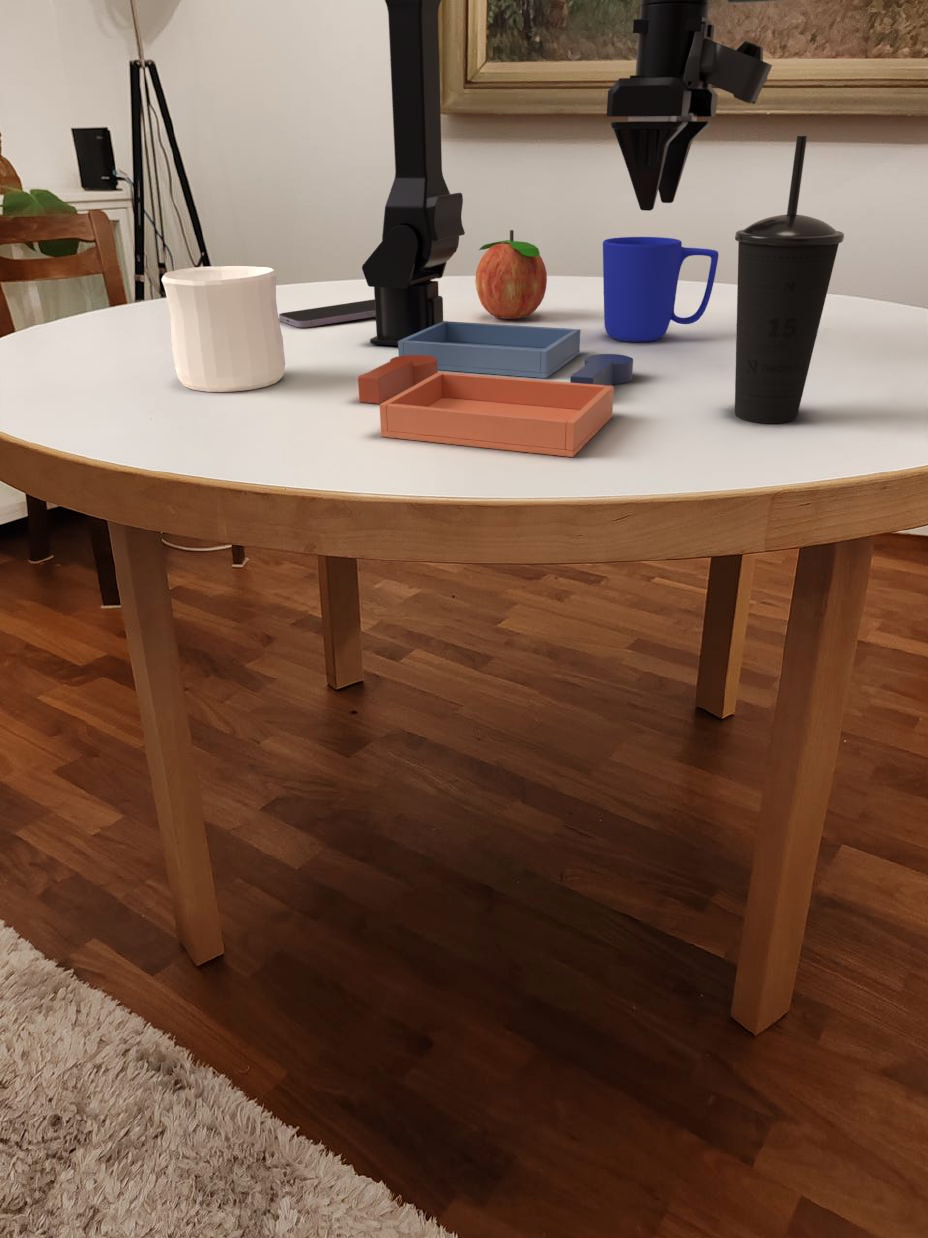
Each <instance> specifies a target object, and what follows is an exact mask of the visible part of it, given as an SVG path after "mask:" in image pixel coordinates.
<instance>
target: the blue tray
mask: <svg viewBox="0 0 928 1238" xmlns="http://www.w3.org/2000/svg"><path fill="white" fill-rule="evenodd" d="M397 347H398V350H397V351H398V356H404V355H427V356H432V357H435V358H437V366H438V371H449V372H460V373H461V372H462V373H471V374H472V373H473V374H474V373H475V374H486V375H499V376H509V377H510V376H512V377H522V378H523V377H525V378H537V379H547V378H549V377H551V375H553V374H554V373H556V372H557V371H558V370H560V369H561V368H562V367H564V366H565V365H567V364H568V363H569V362H570V361H572V360H574V359H575V358H576V357H578V356H579V355H580V353H581V352H580V348H581V329H580V328H564V327H549V326H548V327H547V326H533V325H532V326H531V325H516V324H515V325H514V324H499V323H482V322H481V323H480V322H465V321H464V322H463V321H448V320H443V321H442V322H440V323H438V324H436V325H433V326H431V327H429V328H427V329H424V330H422V331H420V332H418V333H415V334H413V335H411V336H408V337H406V338H404V339H402V340H399V341H398V346H397Z"/></svg>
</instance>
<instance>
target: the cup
mask: <svg viewBox="0 0 928 1238" xmlns="http://www.w3.org/2000/svg"><path fill="white" fill-rule="evenodd" d="M277 276H278V273H277V272H276V271H275V269H273V268H272V267H267V266H248V265H225V266H212V265H211V266H196V267H195V266H194V267H186V268H181V269H175V270H171V271H166V272H165V273H164V274H163V275H162V277H161V279H160V280H161V282H162V285H163V289H164V292H165V297H166V301H167V305H168V312H169V319H170V338H171V339H170V340H171V348H172V355H173V361H174V369H175V372H176V375H177V378H178V381H180V383H181V384H182V385H183V386H184V387H186V388H187V389H189V390H194V391H197V392H208V393H230V392H231V393H233V392H234V393H235V392H242V391H243V392H244V391H251V390H256V389H260V388H266V387H269V386H272V385H274V384H277V383H278V382H279V381H281V379H282V377H284V374H285V368H286V358H285V357H286V355H285V346H284V338H283V334H282V328H281V323H280V322H281V321H280V320H279V312H278V303H277V279H278V278H277Z"/></svg>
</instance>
